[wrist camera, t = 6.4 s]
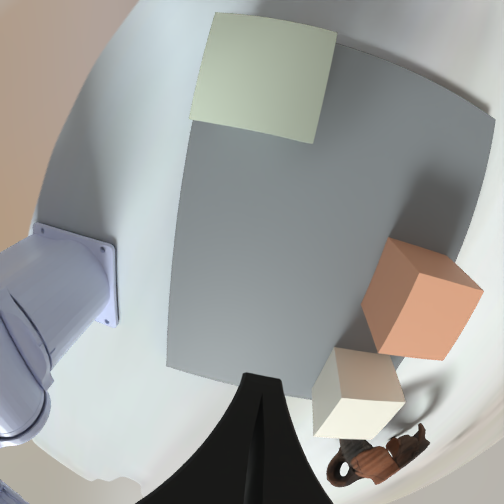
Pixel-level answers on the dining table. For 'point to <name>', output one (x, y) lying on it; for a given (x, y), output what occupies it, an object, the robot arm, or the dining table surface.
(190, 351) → the board
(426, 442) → the dark brown arched piece
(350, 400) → the cream cube
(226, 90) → the sage cube
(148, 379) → the dining table surface
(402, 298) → the terracotta cube
